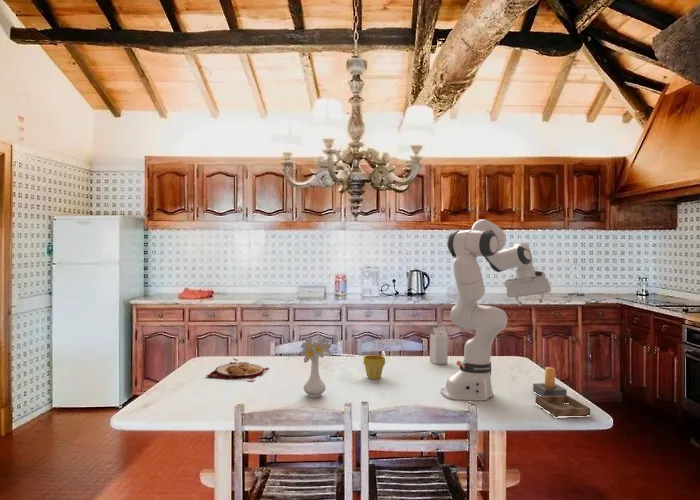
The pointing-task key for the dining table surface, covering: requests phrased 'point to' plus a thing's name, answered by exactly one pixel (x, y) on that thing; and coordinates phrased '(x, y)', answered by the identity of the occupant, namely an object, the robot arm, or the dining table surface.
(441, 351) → the milk carton
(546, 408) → the walnut tray
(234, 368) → the plate with food
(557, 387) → the bracket
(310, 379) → the flower vase
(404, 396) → the dining table surface
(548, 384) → the pin
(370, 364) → the plant pot
